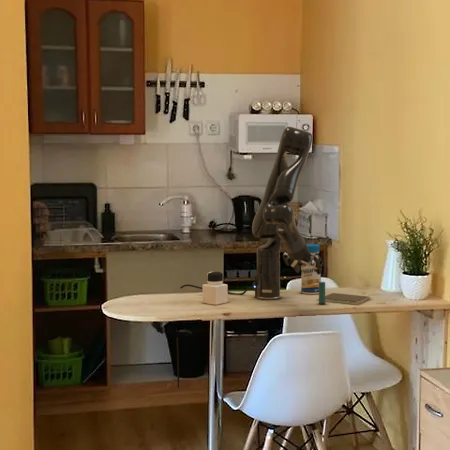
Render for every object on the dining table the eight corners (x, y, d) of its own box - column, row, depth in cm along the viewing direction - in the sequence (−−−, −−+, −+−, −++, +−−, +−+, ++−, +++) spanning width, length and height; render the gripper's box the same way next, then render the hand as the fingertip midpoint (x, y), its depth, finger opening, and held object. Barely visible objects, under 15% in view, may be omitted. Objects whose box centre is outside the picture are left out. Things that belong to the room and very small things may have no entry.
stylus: (317, 304, 286) (317, 282, 285) (320, 303, 288) (320, 281, 288) (323, 305, 285) (323, 283, 284) (326, 303, 287) (326, 282, 286)
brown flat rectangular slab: (318, 300, 294) (318, 297, 293) (332, 295, 304) (332, 292, 304) (356, 304, 285) (356, 301, 285) (369, 299, 296) (369, 296, 296)
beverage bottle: (324, 292, 312) (324, 244, 310) (316, 295, 305) (316, 246, 303) (306, 290, 316) (306, 243, 314) (297, 293, 309) (297, 245, 307)
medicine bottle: (228, 302, 292) (227, 271, 291) (215, 305, 287) (215, 274, 286) (214, 300, 297) (214, 270, 296) (202, 302, 292) (201, 272, 291)
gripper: (316, 237, 264) (329, 265, 275) (280, 235, 272) (295, 262, 283) (309, 254, 260) (323, 281, 271) (273, 251, 268) (288, 278, 279)
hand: (309, 271), depth 277 cm, fingers open, 8 cm apart
